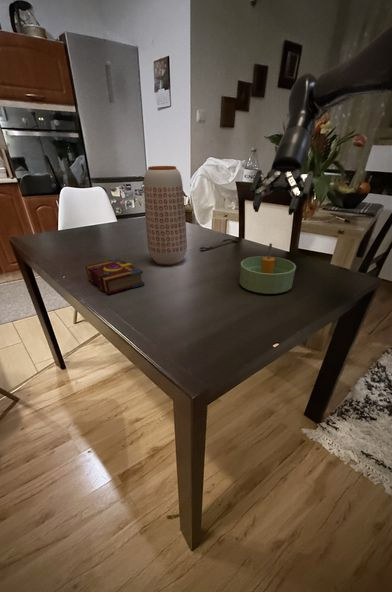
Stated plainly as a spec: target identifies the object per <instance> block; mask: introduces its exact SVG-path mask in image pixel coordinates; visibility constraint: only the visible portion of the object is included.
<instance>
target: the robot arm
mask: <svg viewBox="0 0 392 592" xmlns="http://www.w3.org/2000/svg"><path fill="white" fill-rule="evenodd" d="M386 93H392V23H391V24H389V26H387V27H386V28H385V29H384V30H383V31H382V32H380V33H379V34H378V35H377V36H376V37H375V38H374V39H373V40H372V41H370V43H368V44H367V46H365V47H364V48H362V49H361V50H360V51H359V52H358V53H356V54H355V55H354V56H352V57H349V58H347V59H346V60H344V61H342V62H340V63H338V64H336V65H335V66H333V67H331V68H330V69H328V70H326V71H324V72H323V73H321V75H319V76H318V77H317V76H315V75H314V74H313V73H311V72H307V73H304V74H302V75H300V76H299V77H298V78H297V79H296V81H295V82H294V83H293V85H292V87H291V90H290V93H289V96H288V101H287V124H286V126H285V129H284V132H283V135H282V137H281V139H280V140H279V143H278V146H277V149H276V153H275V155H274V158H273V162H272V164H271V168H270V170H269V171H268V172H267V173H266V172H263V170H262V169H258V170H257V172H256V173H255V176H254V178H253V180H252V183H251V186H250V187H249V188H250V189H249V191H250V194H251V197H252V198H254V199H253V202H252V209H253V210H254V213H258V212H259V210H260V207H261V203H262V201H263V198H265V197H266V196H269V195H270V194H272V193H283V194H286V193H289V194H290V196H291V200H290V204H289V207H288V216H292V215H293V214H295V212H296V211H297V208H298V205H299V202H300V201H307V200H308V199H309V197H310V194H311V193H310V192H311V189H312V184H313V180H314V178H313V177H314V172H313V171H308V172H307V173H305V174H302V173H303V169H304V165H305V163H306V160H307V157H308V155H309V150H310V147H311V141H312V138H313V135H314V132H315V128H316V124H317V122H318V121H319V120H320V119H322V118H323V116H325V114H326V113H327V112H329V110H331V109H333V108H335V107H338V106H342V105H344V104H346V103H348V102H349V101H351V100H352V99H354V98H356V97H359V96H363V95H373V94H386ZM301 181H302V184H303V185H304V187H303V190H302V191H300V190H299V189H300V188H299V187H298V185H299V183H301Z"/></svg>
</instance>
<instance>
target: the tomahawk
mask: <svg viewBox="0 0 392 592" xmlns="http://www.w3.org/2000/svg"><path fill="white" fill-rule="evenodd" d="M233 242H234V243H238V242H239V239H231V238H227V239H223V240H222V242H219V243H215V244H212V245H209V246H208V247H204V246H201V247H199V250H212V249H215V248H220V247H222V246H226V245H228V244H232V243H233Z"/></svg>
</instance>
